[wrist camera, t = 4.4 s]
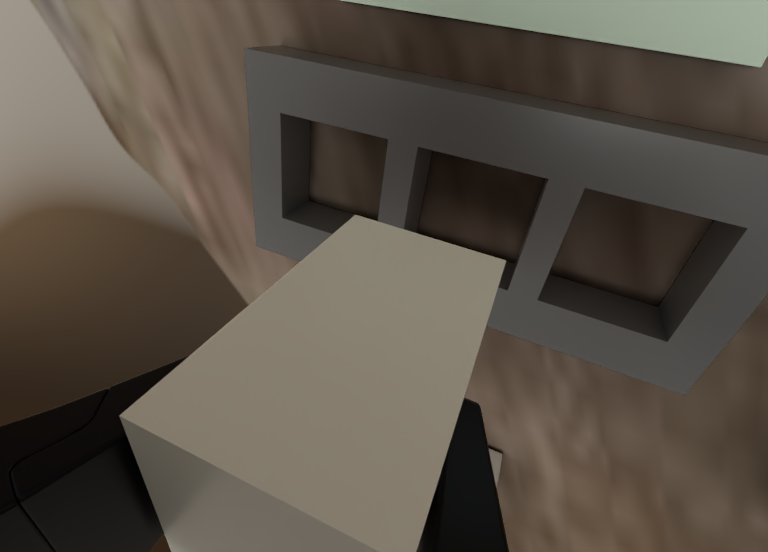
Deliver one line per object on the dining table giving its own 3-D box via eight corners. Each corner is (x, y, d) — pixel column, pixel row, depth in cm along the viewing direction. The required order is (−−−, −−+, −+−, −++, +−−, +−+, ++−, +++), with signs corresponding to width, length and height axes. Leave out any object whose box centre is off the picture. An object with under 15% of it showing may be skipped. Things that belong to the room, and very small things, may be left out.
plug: (506, 260, 10) (411, 568, 4) (466, 374, 12) (370, 672, 6) (355, 214, 11) (118, 415, 5) (344, 327, 13) (172, 551, 7)
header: (823, 153, 13) (864, 175, 11) (673, 356, 18) (684, 395, 16) (280, 45, 18) (244, 48, 16) (283, 227, 23) (256, 246, 21)
